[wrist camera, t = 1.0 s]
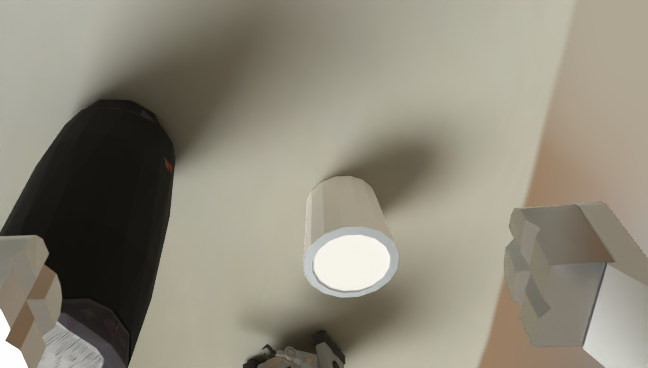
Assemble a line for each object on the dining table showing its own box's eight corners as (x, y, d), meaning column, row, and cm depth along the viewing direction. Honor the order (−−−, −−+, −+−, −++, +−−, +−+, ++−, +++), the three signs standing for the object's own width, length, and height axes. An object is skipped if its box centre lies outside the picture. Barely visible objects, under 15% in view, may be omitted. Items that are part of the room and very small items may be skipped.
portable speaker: (180, 92, 42) (130, 304, 26) (181, 200, 47) (140, 430, 32) (49, 82, 41) (-86, 298, 25) (65, 194, 46) (-37, 430, 31)
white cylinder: (355, 153, 46) (367, 211, 41) (400, 210, 50) (417, 271, 44) (281, 197, 48) (283, 258, 42) (329, 249, 52) (337, 312, 46)
